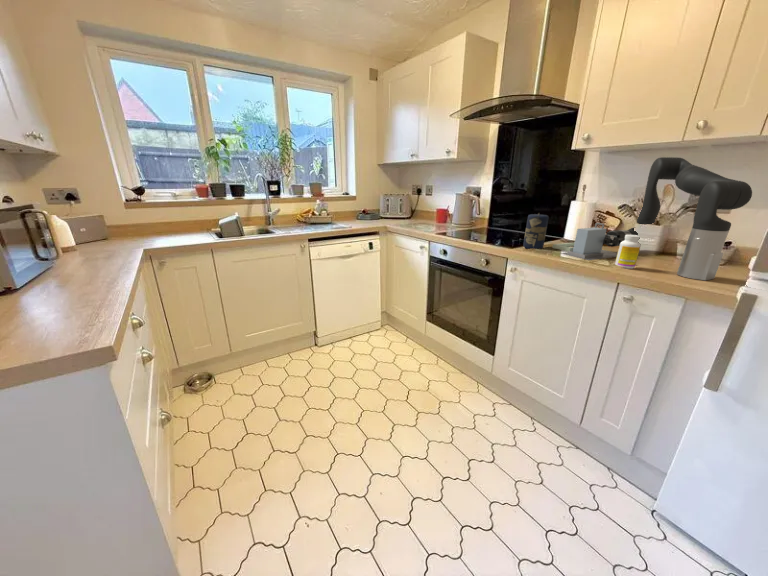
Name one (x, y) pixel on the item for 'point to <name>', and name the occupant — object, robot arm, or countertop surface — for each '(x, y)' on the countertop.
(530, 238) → the canister
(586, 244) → the grey block
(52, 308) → the countertop surface
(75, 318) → the countertop surface
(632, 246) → the supplement bottle
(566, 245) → the tray
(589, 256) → the printer bay
